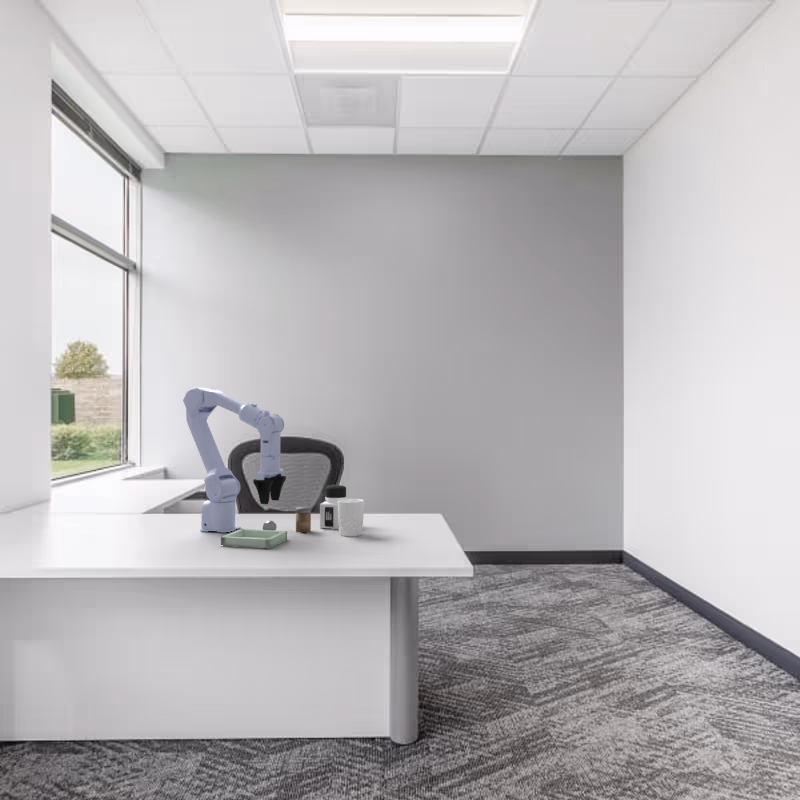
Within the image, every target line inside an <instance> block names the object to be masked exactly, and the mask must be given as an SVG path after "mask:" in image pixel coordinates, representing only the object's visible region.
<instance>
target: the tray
mask: <svg viewBox="0 0 800 800" xmlns="http://www.w3.org/2000/svg"><path fill="white" fill-rule="evenodd" d="M285 540H286V541H287V540H288V531H285V530H276V531H274V530H263V529H251V528H250V529H249V528H239V529H237V530H234V531H232V532H229V533H228V534H225V535H223V536H221V537H220V546H221V545H223V546H222V547H229V546H238V547H237V548H245V547H251V548H250V549H261V548H267V549H266V550H270V548H271V549H272V548H274V547H276V546H278V545H279V543H280V544H282V543H284V542H286V541H285ZM283 541H284V542H283ZM281 542H282V543H281ZM277 544H278V545H277ZM275 545H276V546H275Z"/></svg>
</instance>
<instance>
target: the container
mask: <svg viewBox="0 0 800 800" xmlns="http://www.w3.org/2000/svg"><path fill="white" fill-rule="evenodd" d="M324 490H325V491H324V496H325V497H324V498H325V499H324V501H323V502H321V503H320V505H319V528H320V529H323V528H331V529H330V530H339V524H338V500H340V499H347V487H346V486H345V485H342V484H329V485H326V487H325V489H324Z"/></svg>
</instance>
